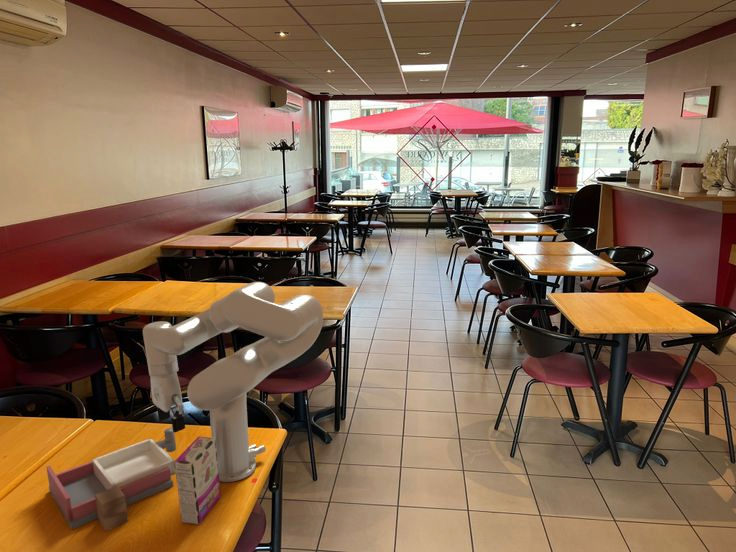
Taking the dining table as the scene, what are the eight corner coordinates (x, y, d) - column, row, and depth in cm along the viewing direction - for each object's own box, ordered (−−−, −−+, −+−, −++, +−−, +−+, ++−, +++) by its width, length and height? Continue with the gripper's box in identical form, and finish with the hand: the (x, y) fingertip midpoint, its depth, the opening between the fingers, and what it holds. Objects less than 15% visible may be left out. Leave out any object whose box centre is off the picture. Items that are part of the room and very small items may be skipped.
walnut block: (120, 511, 129) (117, 485, 128) (128, 521, 126) (124, 495, 124) (98, 521, 126) (94, 494, 124) (105, 531, 122) (101, 504, 121)
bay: (143, 455, 153) (140, 431, 152) (173, 485, 139) (170, 459, 137) (49, 491, 137) (45, 465, 136) (71, 529, 123) (67, 501, 121)
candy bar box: (203, 494, 135) (198, 435, 132) (221, 496, 134) (216, 437, 131) (179, 523, 125) (173, 460, 121) (199, 526, 124) (193, 462, 120)
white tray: (168, 444, 156) (166, 422, 154) (192, 466, 145) (190, 443, 143) (93, 473, 142) (90, 449, 141) (114, 499, 131) (110, 474, 129)
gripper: (137, 363, 149) (146, 420, 153) (162, 379, 137) (171, 440, 140) (164, 356, 154) (172, 410, 158) (190, 370, 142) (198, 429, 145)
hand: (171, 424), depth 149 cm, fingers open, 9 cm apart
